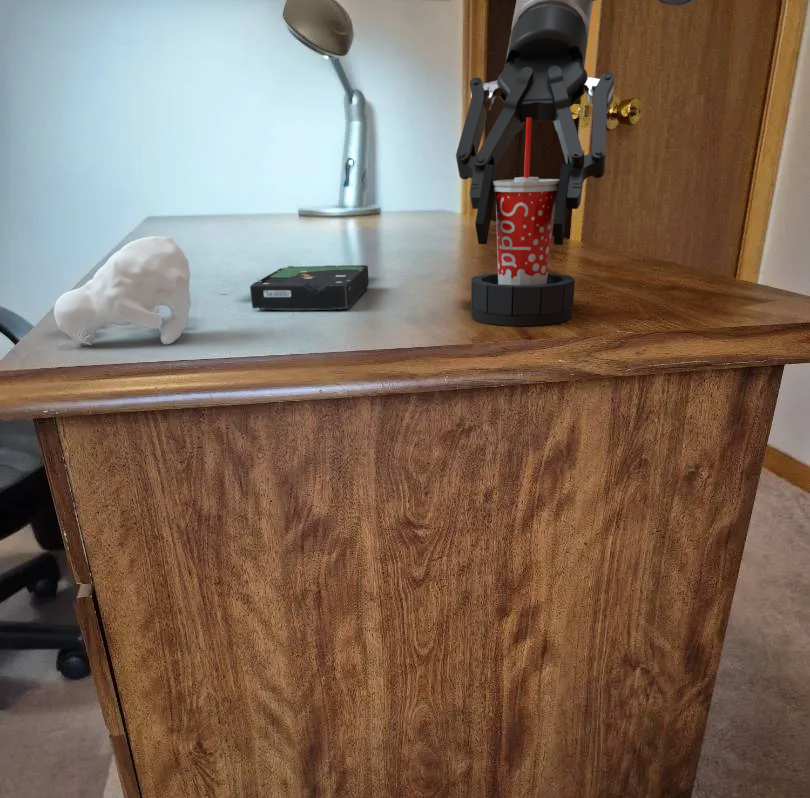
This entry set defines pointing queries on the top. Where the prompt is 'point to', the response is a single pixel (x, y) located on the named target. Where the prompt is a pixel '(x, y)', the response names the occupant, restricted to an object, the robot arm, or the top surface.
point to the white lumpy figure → (131, 292)
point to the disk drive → (310, 288)
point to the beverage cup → (524, 224)
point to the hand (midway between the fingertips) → (519, 233)
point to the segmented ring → (522, 301)
